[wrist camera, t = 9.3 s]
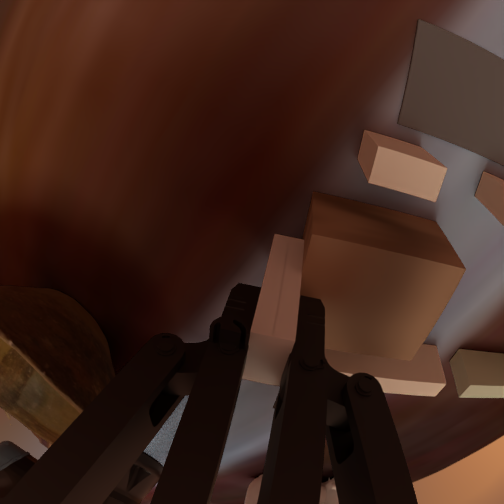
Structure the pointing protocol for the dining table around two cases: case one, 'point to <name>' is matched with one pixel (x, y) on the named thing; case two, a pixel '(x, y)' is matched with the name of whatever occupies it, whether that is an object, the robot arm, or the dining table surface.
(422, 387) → the channel
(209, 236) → the dining table surface
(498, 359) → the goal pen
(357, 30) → the dining table surface
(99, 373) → the bowl
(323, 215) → the block
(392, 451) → the robot arm
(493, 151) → the mat
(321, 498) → the cable organizer
